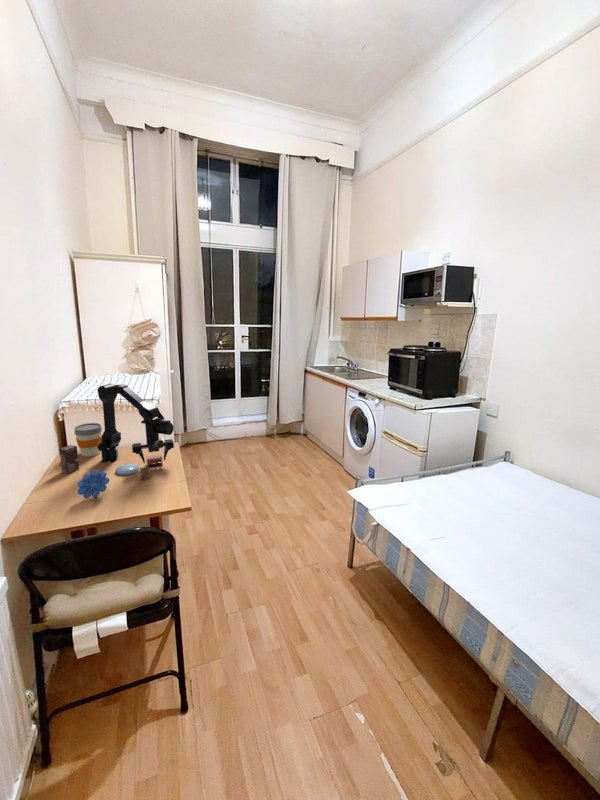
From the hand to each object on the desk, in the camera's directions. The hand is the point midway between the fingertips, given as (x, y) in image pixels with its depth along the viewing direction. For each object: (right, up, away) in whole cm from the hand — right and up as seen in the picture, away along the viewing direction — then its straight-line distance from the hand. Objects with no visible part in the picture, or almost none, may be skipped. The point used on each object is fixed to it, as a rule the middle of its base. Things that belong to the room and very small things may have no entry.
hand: (154, 461), depth 175 cm
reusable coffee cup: (-40, +2, +14) cm, 42 cm away
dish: (-11, -3, -5) cm, 13 cm away
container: (0, -2, +1) cm, 3 cm away
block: (0, -6, -11) cm, 12 cm away
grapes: (-13, -10, -28) cm, 32 cm away
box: (-37, -3, -6) cm, 38 cm away
